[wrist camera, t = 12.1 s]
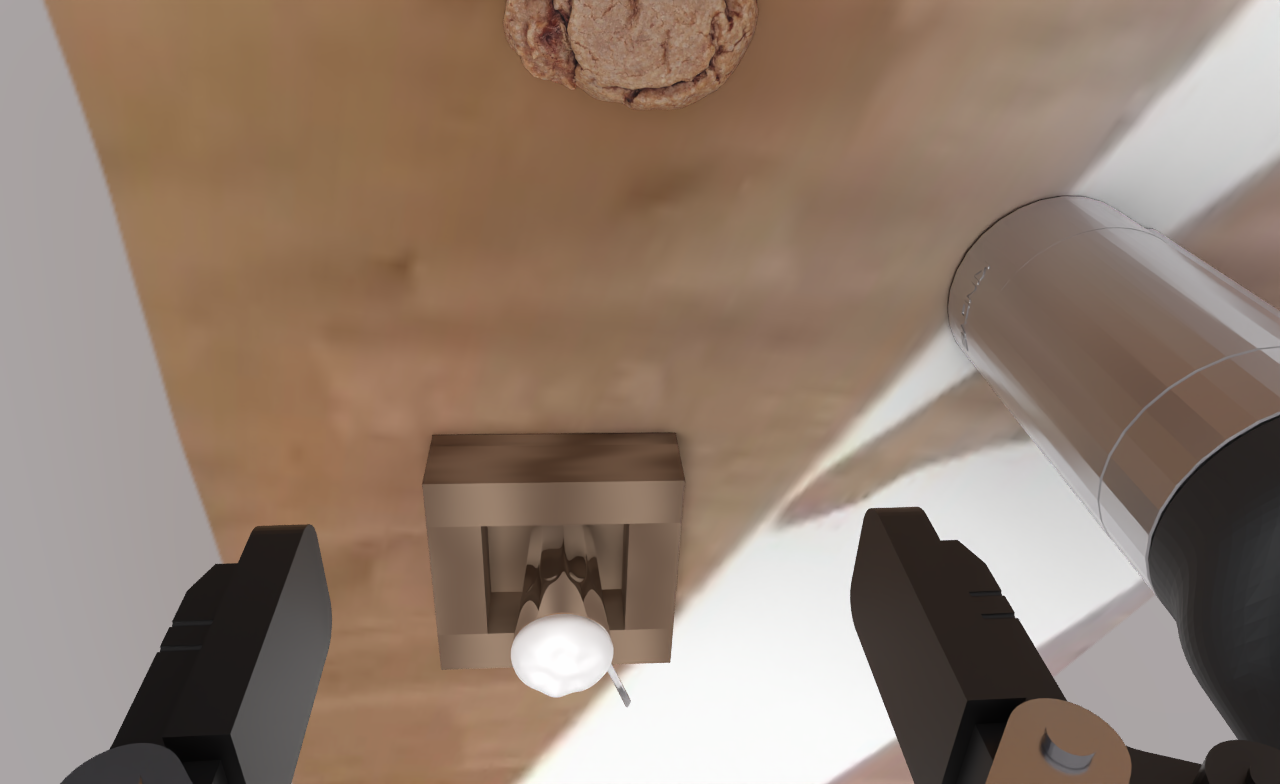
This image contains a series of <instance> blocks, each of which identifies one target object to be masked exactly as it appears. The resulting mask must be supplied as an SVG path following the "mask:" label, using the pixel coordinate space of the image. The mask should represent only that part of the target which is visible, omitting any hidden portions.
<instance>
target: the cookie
mask: <svg viewBox="0 0 1280 784" xmlns="http://www.w3.org/2000/svg"><path fill="white" fill-rule="evenodd" d="M758 13H759V10H758V7H757V0H507V3H506V11H505V15H504V20H503V25H504V31H505V35H506V39H507V42H508V43H509V45H510V46H511V48H512V49H513V50H514V51H516V52H517V53H518V54H519V55H520V58H521V60H522V63H523V65H524V67H525V68H526V69H527V70H528V71H529V72H530V73H531V74H532V75H533V76H534V77H537V78H540V79H543V80H551V81H553V82H556V83H559V84H563V85H564V86H565V87H568V88H569V89H570V90H572V89H576V88H578V87H580V88H581V89H583V90H584V91H585V92H586V93H588V94H589V95H590V96H592V97H593V98H595V99H598V100H603V101H607V102H620V103H622V104H624V105H626V106H628V107H629V108H631V109H635V110H652V109H660V110H671V109H679V108H684V107H686V106H688V105H690V104H692V103H695V102H697V101H698V100H700V99H702V98H704V97H706V96H707V95H708V94H709V93H712V92H714V91H716V90H717V89H718V88H719V87H720V86H721V85H723V84H724V83H725V82H726V81H727V79H728V78H729V76H730V75H731V74H732V73H733V71H734V70H735V69H736V68H737V66H738V64H739V63H740V61H741V59H742V57H743V55H744V53H745V52H746V50H747V48H748V46H749V44H750V42H751V39H752V37H753V35H754V32H755V29H756V23H757V17H758Z"/></svg>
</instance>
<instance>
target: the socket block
mask: <svg viewBox="0 0 1280 784" xmlns="http://www.w3.org/2000/svg"><path fill="white" fill-rule="evenodd" d="M422 487H423V496H424V506H425V516H426V526H427V535H428V545H429V555H430V565H431V574H432V584H433V594H434V604H435V613H436V623H437V633H438V643H439V652H440V662H441V670H447V669H479V668H511V667H513V665H512V661H511V648H512V642H513V636H514V631H515V626H516V621H517V616H518V611H519V606H520V601H521V596H522V590H523V583H524V576H525V570H526V563H527V556H528V549H529V543H530V536H531V530H532V529H533V528H534V527H535V526H536V525H585V524H587V525H588V527H589V528H590V529H591V530H592V532H593V538H594V544H595V550H596V556H597V562H598V569H599V575H600V581H601V587H602V594H603V599H604V605H605V610H606V615H607V620H608V625H609V630H610V634H611V639H612V644H613V659H612V662H611V664H639V663H670V659H671V647H672V635H673V622H674V610H675V598H676V585H677V573H678V561H679V549H680V536H681V524H682V512H683V500H684V487H685V478H684V473H683V468H682V463H681V458H680V453H679V448H678V443H677V438H676V433H608V434H501V435H432V440H431V445H430V450H429V455H428V459H427V464H426V469H425V474H424V478H423V483H422Z"/></svg>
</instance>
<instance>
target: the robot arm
mask: <svg viewBox="0 0 1280 784" xmlns="http://www.w3.org/2000/svg"><path fill="white" fill-rule="evenodd" d="M948 314H949V323H950V328H951V330H952V333H953V335H954V338H955V340H956V342H957V344H958V345H959V346H960V348H961V349H962V350H963V352H964V353H965V354H966V356H967V357H968V358H969V359H970V361H971V362H972V363H973V365H974V366H975V367H976V368H977V370H978V371H979V372H980V374H981V375H982V376H983V377H984V379H985V380H986V381H987V383H988V384H989V385H990V386H991V388H992V390H993V391H994V392H995V393H996V395H997V396H998V397H999V398H1000V400H1001V401H1002V402H1003V403H1004V405H1005V406H1006V407H1007V409H1008V410H1009V411H1010V412H1011V414H1012V415H1013V416H1014V417H1015V419H1016V420H1017V421H1018V422H1019V424H1020V425H1021V426H1022V427H1023V429H1024V430H1025V431H1026V433H1027V434H1028V435H1029V436H1030V438H1031V439H1032V440H1033V441H1034V443H1035V444H1036V445H1037V446H1038V448H1039V449H1040V450H1041V451H1042V453H1043V454H1044V455H1045V457H1046V458H1047V459H1048V460H1049V462H1050V463H1051V464H1052V465H1053V467H1054V468H1055V469H1056V470H1057V472H1058V473H1059V474H1060V476H1061V477H1062V478H1063V479H1064V481H1065V482H1066V483H1067V484H1068V486H1069V487H1070V488H1071V489H1072V491H1073V492H1074V493H1075V494H1076V496H1077V497H1078V498H1079V500H1080V501H1081V502H1082V503H1083V505H1084V506H1085V507H1086V508H1087V510H1088V511H1089V512H1090V513H1091V515H1092V516H1093V517H1094V519H1095V520H1096V521H1097V522H1098V524H1099V525H1100V526H1101V527H1102V529H1103V530H1104V531H1105V532H1106V534H1107V535H1108V536H1109V537H1110V538H1111V540H1112V541H1113V542H1114V543H1115V545H1116V546H1117V547H1118V548H1119V550H1120V551H1121V552H1122V553H1123V555H1124V556H1125V557H1126V558H1127V560H1128V561H1129V562H1130V564H1131V565H1132V566H1133V567H1134V569H1135V570H1136V571H1137V572H1138V574H1139V575H1140V576H1141V577H1142V579H1143V580H1144V581H1145V582H1146V584H1147V585H1148V586H1149V588H1150V589H1151V590H1152V591H1153V593H1154V594H1155V595H1156V596H1157V597H1158V598H1159V600H1160V601H1161V602H1162V604H1163V605H1164V606H1165V608H1166V609H1167V610H1168V611H1169V613H1170V614H1171V615H1172V617H1173V618H1174V619H1175V621H1176V623H1177V627H1178V633H1179V638H1180V642H1181V645H1182V649H1183V652H1184V654H1185V657H1186V659H1187V661H1188V664H1189V666H1190V668H1191V670H1192V672H1193V674H1194V675H1195V677H1196V678H1197V680H1198V682H1199V684H1200V685H1201V687H1202V688H1203V690H1204V691H1205V693H1206V694H1207V695H1208V697H1209V698H1210V700H1211V701H1212V703H1213V704H1214V706H1215V707H1216V708H1217V710H1218V711H1219V713H1220V714H1221V715H1222V717H1223V718H1224V720H1225V721H1226V723H1227V724H1228V726H1229V727H1230V728H1231V730H1232V731H1233V733H1234V734H1235V736H1236V737H1237V739H1238V740H1230V741H1226V742H1222V743H1219V744H1218V745H1216V746H1214V747H1213V748H1212V749H1211V750H1210V751H1209V753H1208V755H1207V756H1206V758H1205V760H1204V762H1203V764H1202V765H1201V764H1198V763H1193V762H1189V761H1184V760H1180V759H1175V758H1171V757H1166V756H1162V755H1157V754H1153V753H1148V752H1144V751H1140V750H1136V749H1133V748H1130V747H1128V746H1125V744H1124V742H1123V740H1122V739H1121V738H1120V736H1119V735H1118V734H1117V733H1116V731H1115V730H1114V729H1113V728H1112V727H1111V726H1110V725H1109V724H1108V723H1106V722H1105V721H1104V720H1102V719H1101V718H1100V717H1099V716H1097V715H1096V714H1094V713H1092V712H1091V711H1089V710H1087V709H1085V708H1083V707H1081V706H1079V705H1076V704H1073V703H1071V702H1068V701H1067V700H1066V698H1065V697H1064V695H1063V693H1062V692H1061V690H1060V688H1059V687H1058V685H1057V683H1056V682H1055V680H1054V678H1053V677H1052V675H1051V673H1050V671H1049V670H1048V668H1047V666H1046V665H1045V663H1044V661H1043V660H1042V658H1041V656H1040V655H1039V653H1038V651H1037V650H1036V648H1035V646H1034V645H1033V643H1032V641H1031V639H1030V638H1029V636H1028V634H1027V633H1026V631H1025V629H1024V628H1023V626H1022V624H1021V623H1020V621H1019V619H1018V618H1015V616H1014V611H1013V609H1012V608H1011V606H1010V604H1009V602H1008V601H1007V599H1006V597H1005V596H1002V594H1001V589H1000V587H999V586H998V584H997V582H996V581H995V579H994V577H993V576H992V574H991V572H990V571H989V569H988V567H987V565H986V564H985V563H984V562H983V561H982V560H981V559H979V558H978V557H977V556H976V555H975V554H974V553H972V552H971V551H970V550H969V549H968V548H966V547H965V546H964V545H963V544H962V543H960V542H959V541H958V540H945V541H940V539H939V537H938V535H937V533H936V532H935V530H934V528H933V526H932V524H931V522H930V521H929V519H928V517H927V515H926V514H925V512H924V511H923V510H922V509H921V508H920V507H897V508H870V509H868V510H867V512H866V514H865V516H864V520H863V525H862V530H861V535H860V540H859V546H858V551H857V556H856V561H855V566H854V572H853V577H852V582H851V590H850V602H851V612H852V618H853V622H854V626H855V629H856V631H857V634H858V637H859V639H860V642H861V645H862V647H863V650H864V652H865V655H866V658H867V660H868V663H869V666H870V668H871V671H872V673H873V676H874V679H875V681H876V684H877V687H878V689H879V692H880V694H881V697H882V700H883V702H884V705H885V708H886V710H887V713H888V715H889V718H890V721H891V723H892V726H893V728H894V731H895V734H896V736H897V739H898V742H899V744H900V747H901V749H902V752H903V755H904V757H905V760H906V763H907V765H908V768H909V770H910V773H911V776H912V778H913V781H914V784H1280V311H1279V310H1278V309H1276V308H1275V307H1273V306H1272V305H1270V304H1269V303H1267V302H1266V301H1264V300H1263V299H1261V298H1259V297H1258V296H1256V295H1255V294H1253V293H1252V292H1250V291H1249V290H1247V289H1246V288H1244V287H1243V286H1241V285H1240V284H1238V283H1236V282H1235V281H1233V280H1232V279H1230V278H1229V277H1227V276H1226V275H1224V274H1223V273H1221V272H1220V271H1218V270H1217V269H1215V268H1213V267H1212V266H1210V265H1209V264H1207V263H1206V262H1204V261H1203V260H1201V259H1200V258H1198V257H1197V256H1195V255H1194V254H1192V253H1190V252H1189V251H1187V250H1186V249H1184V248H1183V247H1181V246H1180V245H1178V244H1177V243H1175V242H1174V241H1172V240H1171V239H1169V238H1168V237H1166V236H1164V235H1163V234H1161V233H1160V232H1158V231H1157V230H1155V229H1145V228H1144V227H1142V226H1141V225H1139V224H1138V223H1136V222H1135V221H1133V220H1132V219H1130V218H1129V217H1127V216H1126V215H1124V214H1123V213H1121V212H1120V211H1118V210H1116V209H1115V208H1113V207H1111V206H1109V205H1107V204H1106V203H1104V202H1102V201H1098V200H1094V199H1090V198H1087V197H1074V196H1061V197H1056V198H1050V199H1045V200H1040V201H1038V202H1035V203H1032V204H1030V205H1027V206H1024V207H1022V208H1019V209H1018V210H1016V211H1014V212H1013V213H1011V214H1009V215H1008V216H1006V217H1004V218H1003V219H1001V220H999V221H998V222H997V223H996V224H995V225H993V226H992V227H991V228H990V229H989V230H988V231H986V232H985V233H984V234H983V235H982V236H981V237H980V238H979V239H978V241H977V242H976V243H975V244H974V245H973V246H972V248H971V249H970V250H969V251H968V252H967V254H966V256H965V258H964V259H963V261H962V263H961V265H960V266H959V268H958V270H957V272H956V275H955V278H954V280H953V283H952V286H951V289H950V296H949V304H948ZM172 622H173V625H172V627H169V629H168V631H167V633H166V635H165V637H164V639H163V641H162V644H161V646H160V647H161V650H160V652H158V653H157V654H156V656H155V658H154V660H153V662H152V664H151V666H150V668H149V670H148V672H147V674H146V677H145V678H144V680H143V683H142V685H141V687H140V689H139V691H138V693H137V695H136V697H135V699H134V701H133V703H132V705H131V707H130V709H129V711H128V713H127V715H126V717H125V719H124V721H123V724H122V726H121V728H120V730H119V732H118V734H117V736H116V738H115V740H114V742H113V744H112V746H111V747H110V749H109V750H107V751H105V752H103V753H101V754H98V755H96V756H95V757H93V758H91V759H89V760H88V761H86V762H84V763H83V764H82V765H80V766H79V767H77V768H76V769H75V770H74V771H72V772H71V773H70V774H69V775H68V776H67V777H66V778H65V779H64V780H63V781H62V782H61V783H60V784H291V782H292V779H293V775H294V771H295V768H296V764H297V761H298V757H299V753H300V750H301V746H302V743H303V739H304V735H305V732H306V728H307V725H308V721H309V717H310V714H311V710H312V707H313V703H314V699H315V696H316V692H317V689H318V685H319V681H320V678H321V674H322V671H323V667H324V664H325V660H326V656H327V653H328V649H329V645H330V639H331V629H332V611H331V602H330V597H329V592H328V587H327V583H326V578H325V573H324V568H323V563H322V558H321V553H320V548H319V543H318V539H317V534H316V531H315V529H314V527H313V526H312V525H310V524H308V525H276V526H257V527H255V528H254V529H253V531H252V533H251V534H250V537H249V539H248V541H247V544H246V546H245V548H244V551H243V553H242V555H241V557H240V560H239V562H238V563H233V564H215V565H214V566H213V567H212V568H211V569H210V570H209V571H208V572H207V573H206V574H205V575H203V577H201V578H200V579H199V580H198V581H197V582H196V583H195V584H194V585H193V586H192V587H191V588H190V589H189V590H188V591H187V592H186V594H185V596H184V599H183V600H182V603H181V605H180V607H179V609H178V611H177V613H176V615H175V617H174V619H173V621H172Z"/></svg>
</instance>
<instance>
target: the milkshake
mask: <svg viewBox="0 0 1280 784" xmlns="http://www.w3.org/2000/svg"><path fill="white" fill-rule="evenodd" d="M612 659H613V644H612V639H611V634H610V630H609V625H608V620H607V615H606V610H605V605H604V599H603V594H602V587H601V581H600V575H599V569H598V562H597V556H596V550H595V544H594V538H593V532H592V530H591V529H590V528H589V527H588V525H587V524H585V525H536V526H535V527H534V528H533V529H532V530H531V536H530V543H529V549H528V556H527V563H526V570H525V576H524V583H523V590H522V596H521V601H520V606H519V611H518V616H517V621H516V626H515V631H514V636H513V642H512V648H511V661H512V665H513V667H514V670H515V672H516V674H517V675H518V677H519V678H520V679H521V681H522V682H523V683H525V684H526V685H527V686H529V687H531V688H533V689H535V690H538V691H540V692H542V693H544V694H546V695H548V696H551V697H561V696H564V695H567V694H570V693H573V692H578V691H583V690H585V689H588V688H589V687H591V686H593V685H594V684H595V683H596V682H598V681H599V680H600V679H601V678H602V677H603V676H604V674H605V673H606V672H607V671H608V673H609V675H610V677H611V679H612V681H613V683H614V684H615V686H616V688H617V690H618V692H619V694H620V696H621V698H622V700H623V702H624V704H625V706H626V707H628V706H629V704H630V702H631V700H630V698H629V696H628V694H627V692H626V690H625V688H624V686H623V685H622V683H621V681H620V679H619V677H618V675H617V673H616V671H615V669H614V667H613V665H612V664H611V662H612Z"/></svg>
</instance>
